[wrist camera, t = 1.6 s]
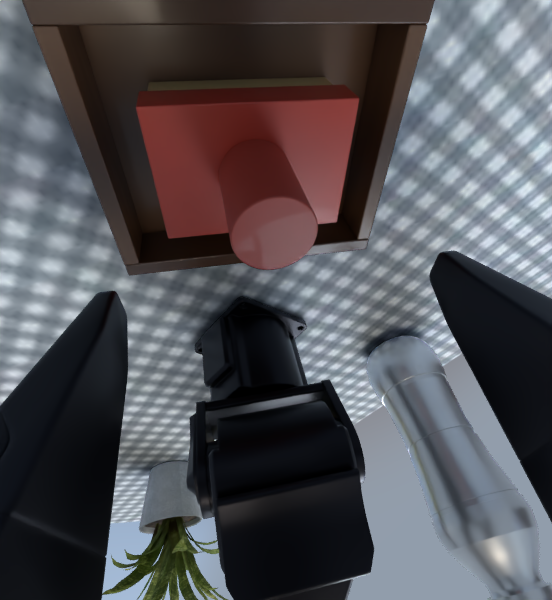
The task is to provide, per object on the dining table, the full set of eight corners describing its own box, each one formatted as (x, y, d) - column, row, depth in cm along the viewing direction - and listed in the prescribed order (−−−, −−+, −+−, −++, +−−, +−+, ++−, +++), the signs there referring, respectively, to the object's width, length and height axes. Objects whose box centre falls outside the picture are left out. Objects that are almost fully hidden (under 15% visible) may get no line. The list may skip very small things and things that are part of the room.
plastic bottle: (365, 374, 36) (478, 636, 23) (352, 343, 31) (487, 654, 18) (425, 351, 35) (580, 611, 22) (422, 315, 30) (620, 623, 17)
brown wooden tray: (347, 218, 21) (366, 249, 19) (133, 239, 19) (128, 276, 17) (396, -14, 13) (436, -3, 11) (45, -19, 11) (18, -8, 9)
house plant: (233, 433, 40) (255, 621, 29) (239, 471, 50) (257, 621, 39) (103, 457, 38) (75, 670, 27) (136, 492, 48) (126, 657, 37)
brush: (330, 70, 14) (412, 146, 9) (316, 185, 18) (370, 282, 13) (141, 75, 13) (123, 164, 8) (168, 197, 17) (167, 307, 12)
